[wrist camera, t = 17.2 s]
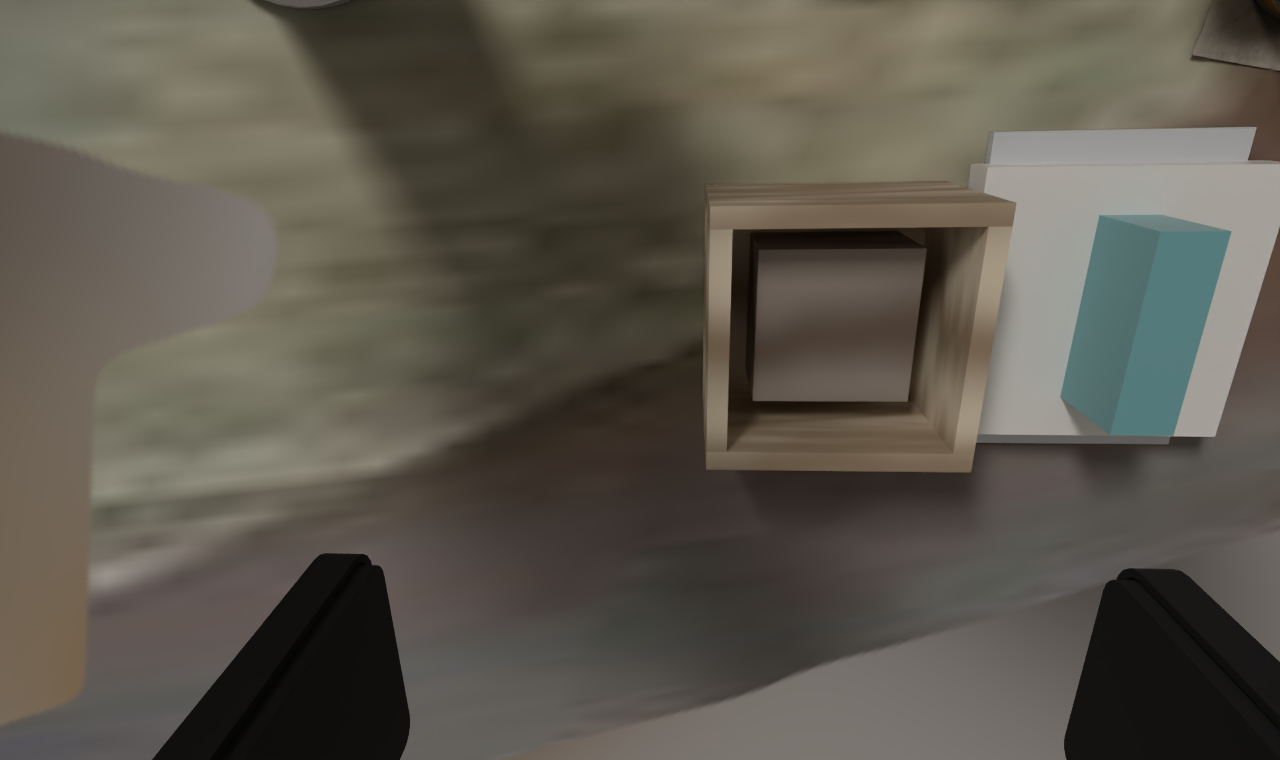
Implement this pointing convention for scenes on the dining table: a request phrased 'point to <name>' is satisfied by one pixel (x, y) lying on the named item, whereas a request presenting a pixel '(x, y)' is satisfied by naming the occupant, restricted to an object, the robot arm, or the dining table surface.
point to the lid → (1125, 293)
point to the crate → (849, 324)
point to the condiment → (1242, 33)
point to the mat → (1113, 149)
